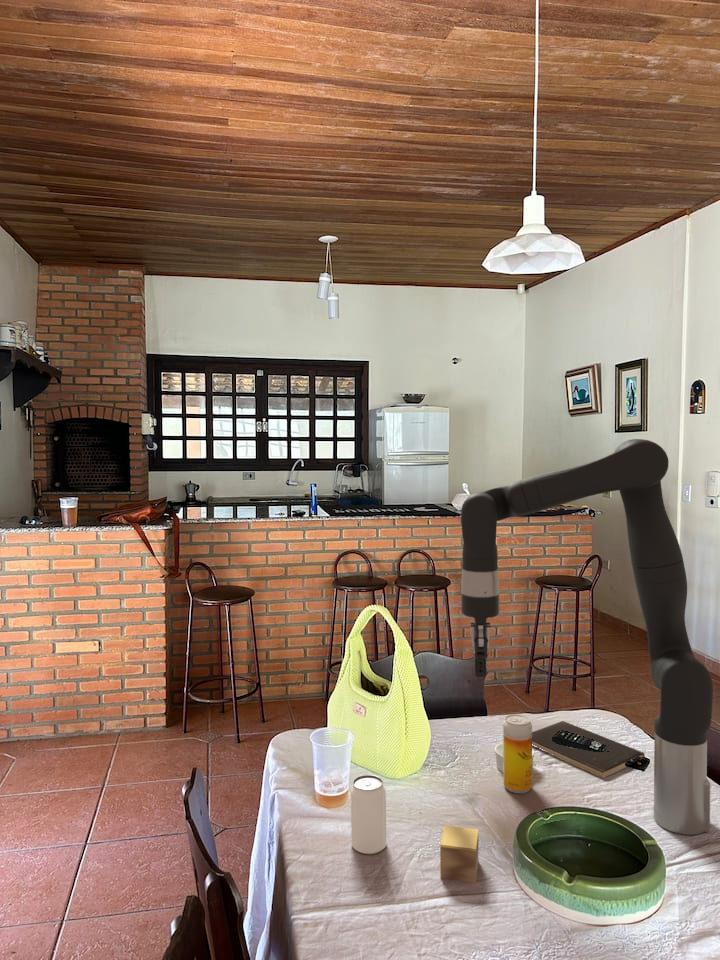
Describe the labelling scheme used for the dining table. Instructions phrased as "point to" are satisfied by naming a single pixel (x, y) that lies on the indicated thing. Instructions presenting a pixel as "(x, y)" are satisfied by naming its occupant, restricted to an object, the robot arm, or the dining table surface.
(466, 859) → the cube
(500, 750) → the ramekin
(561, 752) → the hardcover book
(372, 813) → the can
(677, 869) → the dining table surface
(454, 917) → the dining table surface
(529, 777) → the beer can
